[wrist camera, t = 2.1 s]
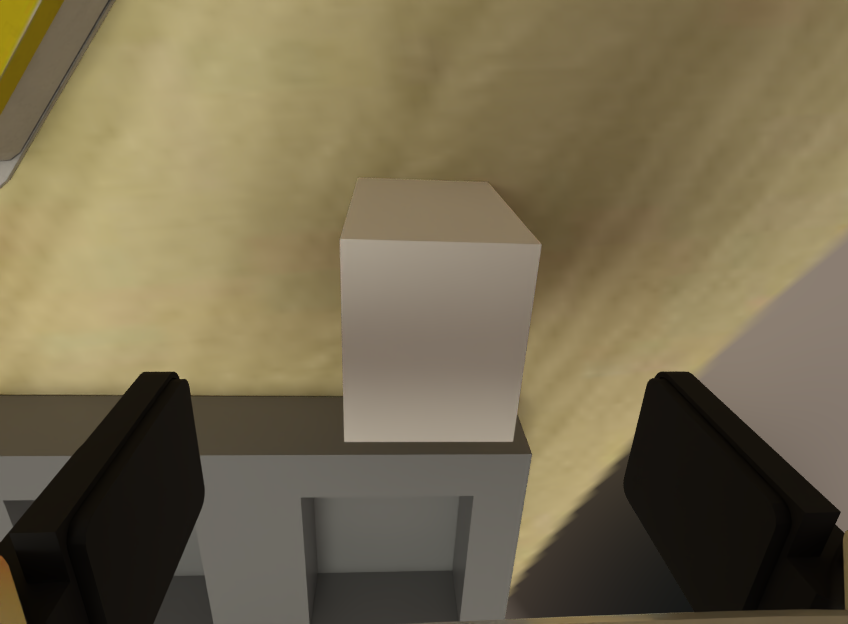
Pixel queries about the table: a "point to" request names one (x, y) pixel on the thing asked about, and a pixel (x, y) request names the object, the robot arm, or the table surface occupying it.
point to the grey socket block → (308, 512)
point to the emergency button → (38, 65)
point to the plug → (433, 311)
